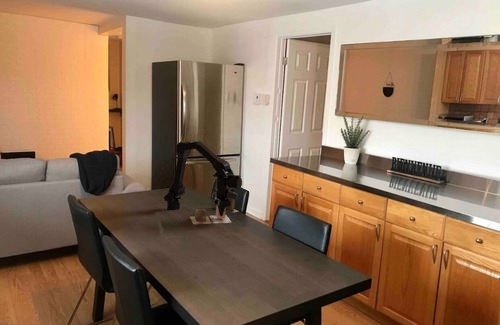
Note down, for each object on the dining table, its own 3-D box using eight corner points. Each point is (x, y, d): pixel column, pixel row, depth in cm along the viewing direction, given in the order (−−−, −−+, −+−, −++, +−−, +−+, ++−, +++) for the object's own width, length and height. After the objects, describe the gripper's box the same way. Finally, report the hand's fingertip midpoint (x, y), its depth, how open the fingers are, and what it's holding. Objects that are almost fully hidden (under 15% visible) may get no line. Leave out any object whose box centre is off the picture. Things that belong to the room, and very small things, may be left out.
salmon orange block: (217, 218, 204) (218, 207, 203) (215, 216, 207) (216, 205, 206) (225, 218, 205) (225, 207, 204) (223, 215, 209) (223, 204, 208)
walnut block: (196, 221, 200) (196, 212, 199) (194, 218, 205) (195, 209, 204) (206, 221, 202) (206, 211, 201) (204, 218, 206) (204, 208, 205)
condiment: (230, 207, 232) (231, 187, 230) (239, 211, 225) (240, 191, 223) (220, 209, 227) (221, 189, 225) (228, 213, 221) (229, 192, 219)
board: (193, 226, 196) (193, 224, 196) (189, 218, 207) (189, 216, 207) (231, 224, 202) (232, 222, 202) (226, 217, 214) (226, 215, 213)
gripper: (242, 190, 197) (240, 220, 200) (232, 181, 214) (230, 209, 217) (220, 190, 194) (218, 220, 196) (212, 181, 211) (210, 209, 214)
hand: (220, 214), depth 206 cm, fingers closed on salmon orange block, 4 cm apart
